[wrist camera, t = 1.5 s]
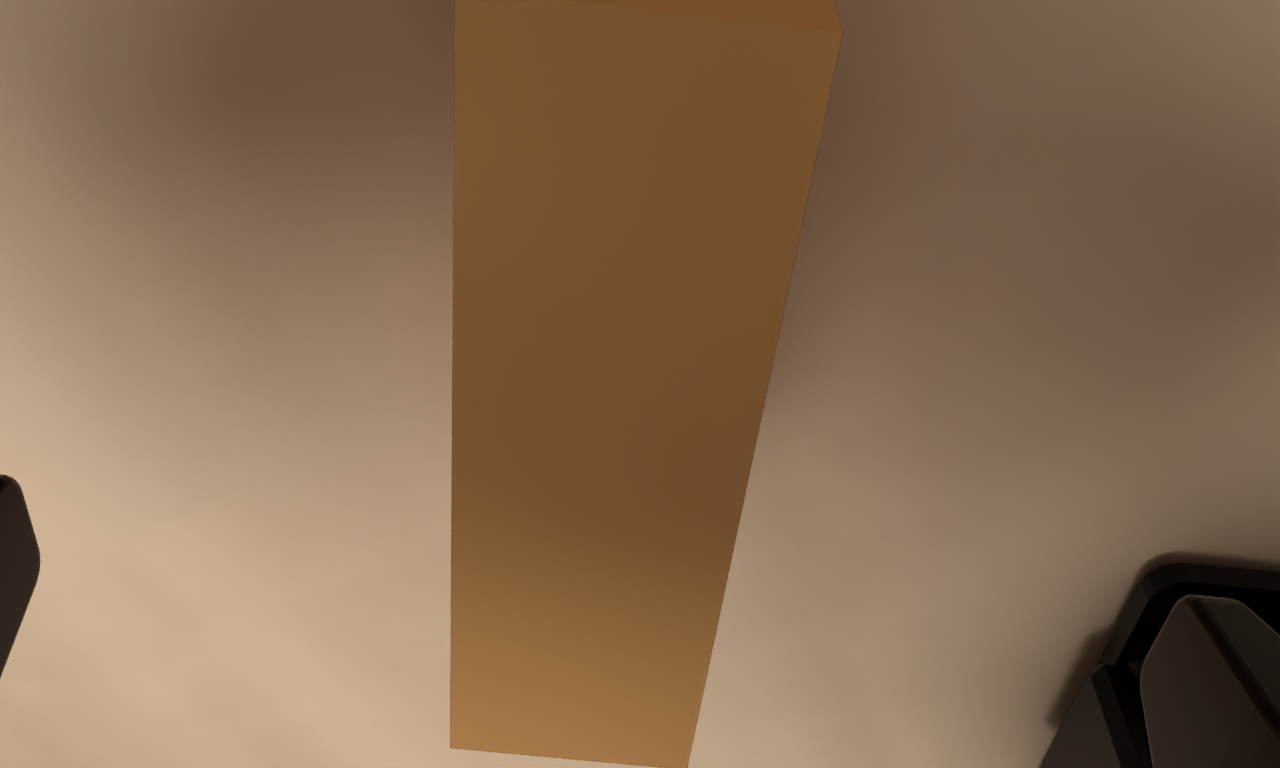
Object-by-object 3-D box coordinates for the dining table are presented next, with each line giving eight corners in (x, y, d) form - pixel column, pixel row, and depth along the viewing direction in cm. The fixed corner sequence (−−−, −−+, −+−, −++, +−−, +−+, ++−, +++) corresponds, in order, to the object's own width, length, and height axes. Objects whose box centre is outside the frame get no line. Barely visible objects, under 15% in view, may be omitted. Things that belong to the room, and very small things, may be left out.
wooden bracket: (784, -175, 12) (843, 31, 8) (688, 415, 17) (687, 769, 12) (548, -203, 12) (454, -14, 7) (517, 397, 17) (450, 748, 12)
